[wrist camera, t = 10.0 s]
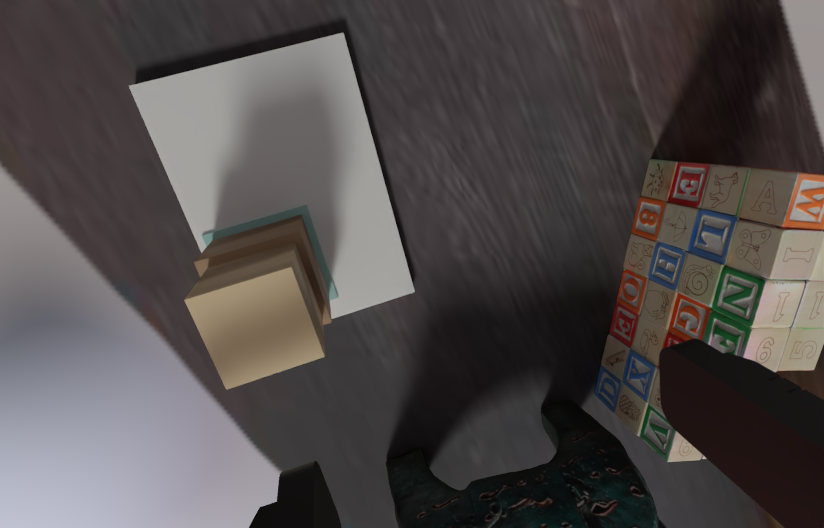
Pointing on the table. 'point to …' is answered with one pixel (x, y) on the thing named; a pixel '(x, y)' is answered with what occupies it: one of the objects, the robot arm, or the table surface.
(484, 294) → the table surface
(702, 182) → the stack of blocks
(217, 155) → the build board
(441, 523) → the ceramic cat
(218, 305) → the oak cube
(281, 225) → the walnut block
